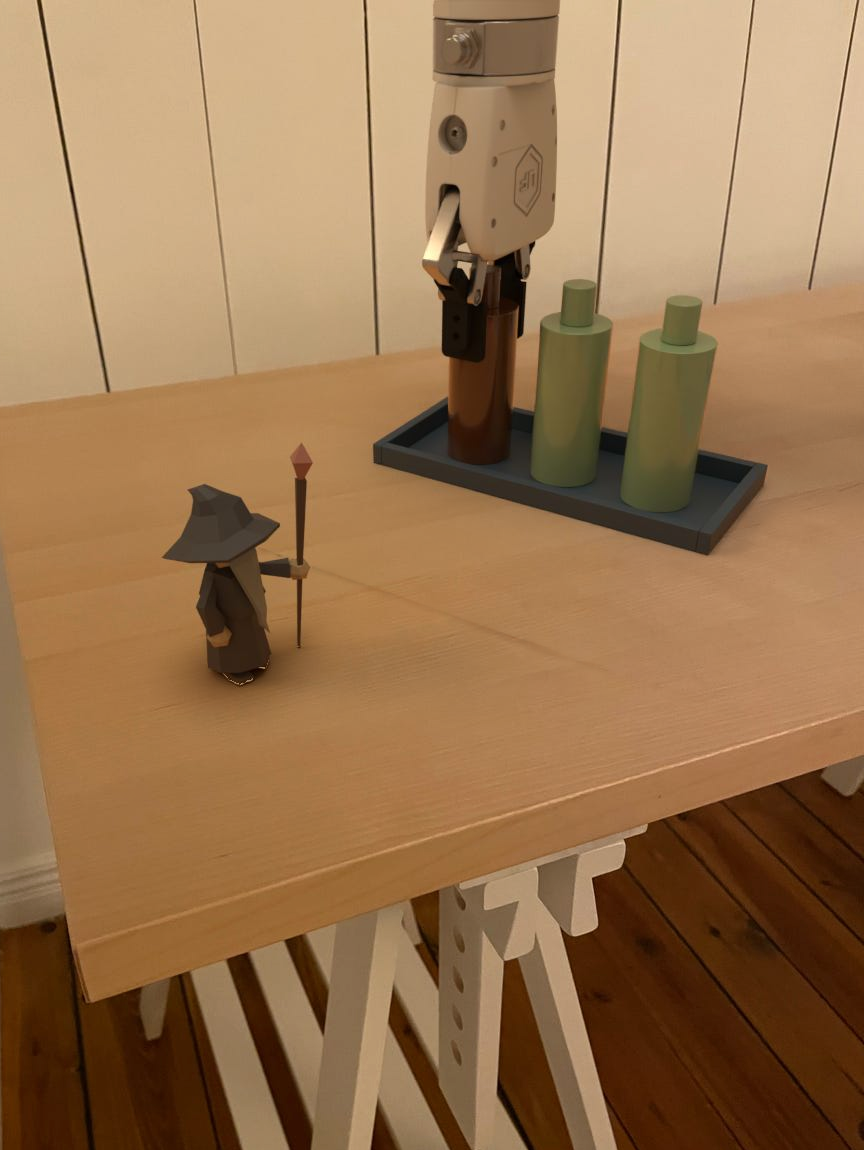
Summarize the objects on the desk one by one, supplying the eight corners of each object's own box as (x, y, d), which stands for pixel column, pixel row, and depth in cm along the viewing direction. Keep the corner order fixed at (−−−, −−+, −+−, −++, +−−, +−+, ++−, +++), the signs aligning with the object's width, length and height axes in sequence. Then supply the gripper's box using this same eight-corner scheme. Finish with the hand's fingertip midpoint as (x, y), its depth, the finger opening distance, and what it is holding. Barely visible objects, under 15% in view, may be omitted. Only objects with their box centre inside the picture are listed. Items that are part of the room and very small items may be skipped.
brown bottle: (521, 446, 77) (533, 264, 69) (491, 470, 74) (499, 282, 66) (467, 433, 79) (472, 255, 72) (435, 455, 76) (436, 272, 68)
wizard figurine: (248, 714, 53) (222, 509, 46) (166, 681, 55) (130, 482, 48) (335, 634, 58) (324, 441, 51) (258, 608, 61) (237, 420, 54)
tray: (762, 491, 72) (768, 464, 70) (706, 563, 64) (711, 534, 63) (452, 416, 84) (452, 392, 82) (373, 469, 76) (372, 443, 75)
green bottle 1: (607, 468, 74) (629, 279, 66) (579, 493, 71) (599, 298, 63) (548, 453, 76) (562, 269, 68) (518, 477, 73) (530, 287, 65)
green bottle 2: (700, 491, 71) (735, 296, 63) (675, 519, 67) (709, 317, 60) (635, 475, 73) (661, 284, 65) (608, 501, 70) (632, 304, 62)
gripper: (478, 70, 54) (468, 396, 64) (609, 41, 65) (582, 322, 76) (363, 64, 57) (372, 373, 68) (506, 37, 69) (494, 306, 79)
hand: (483, 343), depth 72 cm, fingers closed on brown bottle, 4 cm apart
